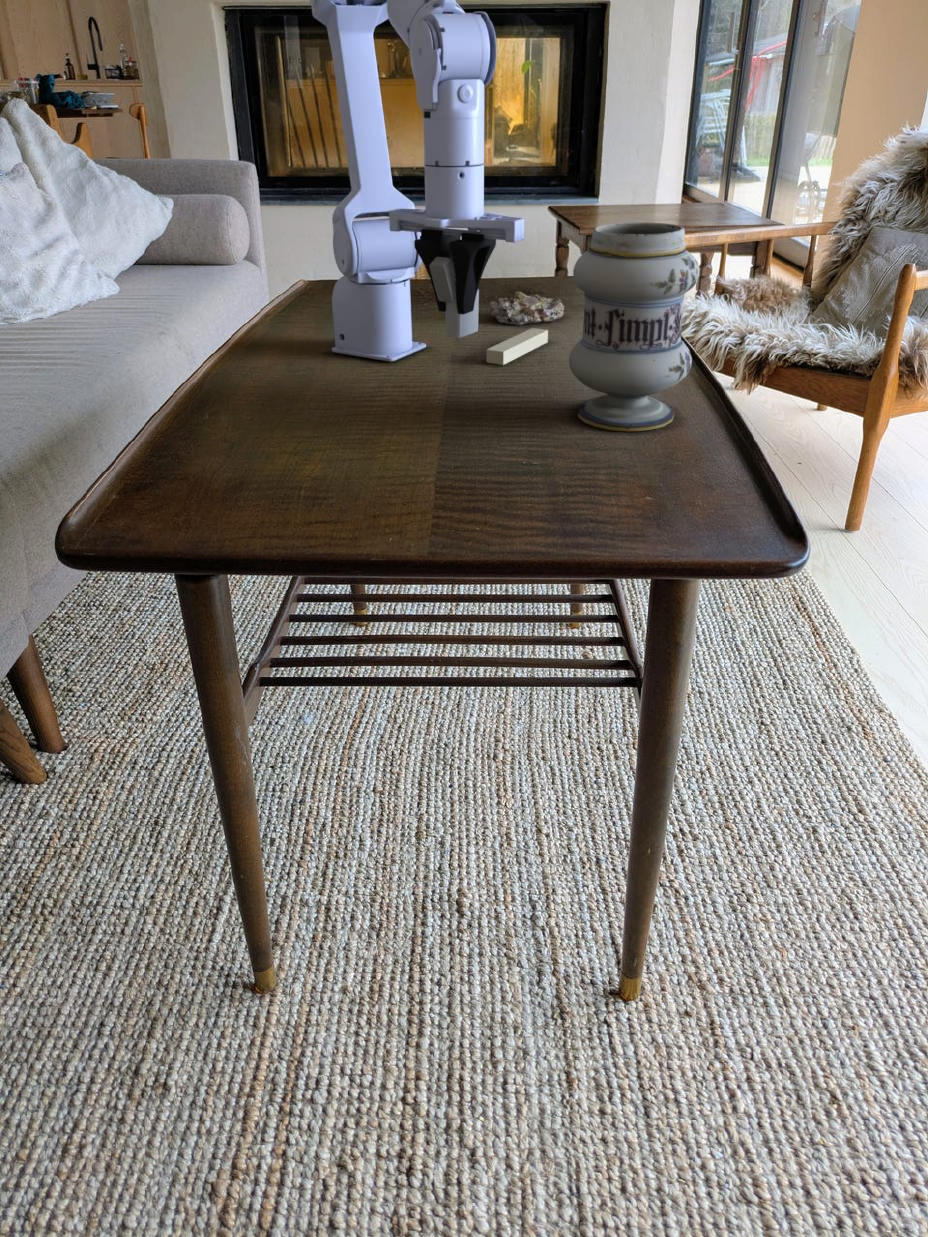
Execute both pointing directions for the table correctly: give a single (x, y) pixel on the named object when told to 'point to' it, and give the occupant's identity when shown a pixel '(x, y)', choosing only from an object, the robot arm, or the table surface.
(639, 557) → the table surface
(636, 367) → the apothecary jar
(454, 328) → the lighter
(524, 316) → the mineral rock
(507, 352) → the strip
